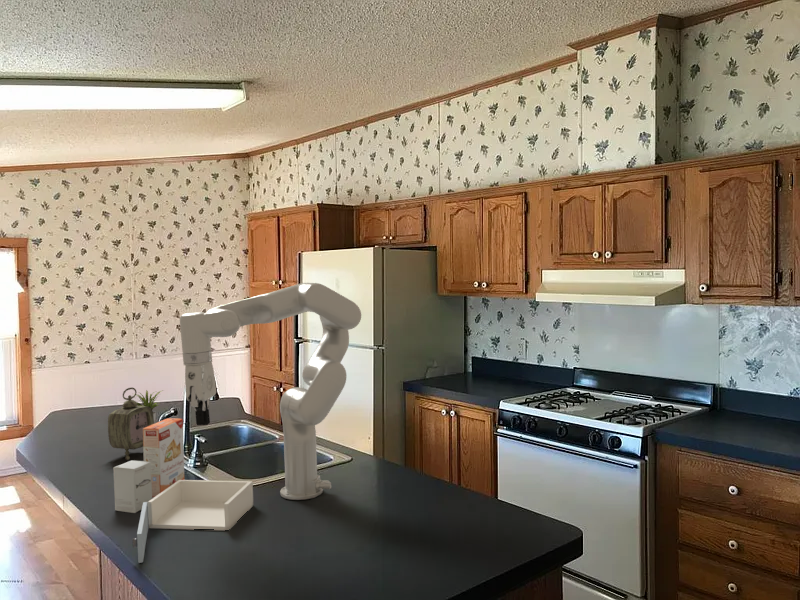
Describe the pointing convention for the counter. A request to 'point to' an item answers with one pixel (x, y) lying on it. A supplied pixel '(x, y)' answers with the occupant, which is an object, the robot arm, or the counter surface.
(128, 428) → the tabletop clock
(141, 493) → the supplement box
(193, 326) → the robot arm
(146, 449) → the cracker box
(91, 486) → the counter surface
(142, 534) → the side door
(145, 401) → the house plant
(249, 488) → the case
